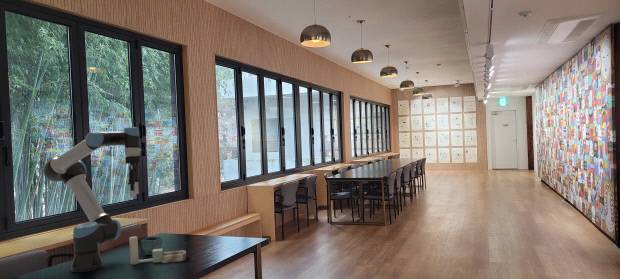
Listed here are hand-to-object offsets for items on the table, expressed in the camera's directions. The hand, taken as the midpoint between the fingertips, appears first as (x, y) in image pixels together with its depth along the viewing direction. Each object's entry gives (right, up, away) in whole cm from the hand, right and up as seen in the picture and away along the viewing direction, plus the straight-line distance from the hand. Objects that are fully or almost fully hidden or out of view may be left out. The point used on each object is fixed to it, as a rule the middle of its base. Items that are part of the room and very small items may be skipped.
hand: (134, 195), depth 244 cm
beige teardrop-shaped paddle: (+6, -36, +1) cm, 37 cm away
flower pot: (+3, -37, +20) cm, 42 cm away
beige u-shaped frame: (+20, -36, +5) cm, 41 cm away
